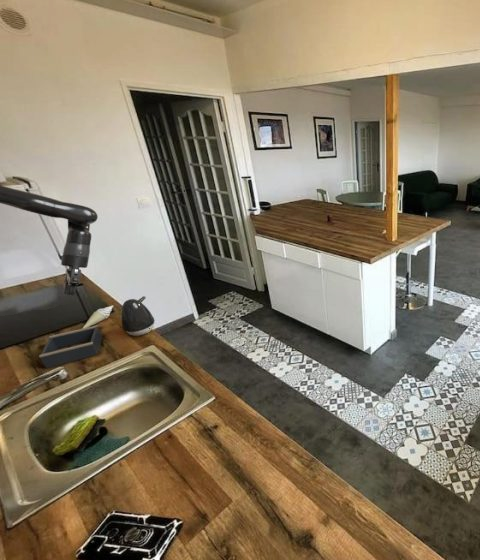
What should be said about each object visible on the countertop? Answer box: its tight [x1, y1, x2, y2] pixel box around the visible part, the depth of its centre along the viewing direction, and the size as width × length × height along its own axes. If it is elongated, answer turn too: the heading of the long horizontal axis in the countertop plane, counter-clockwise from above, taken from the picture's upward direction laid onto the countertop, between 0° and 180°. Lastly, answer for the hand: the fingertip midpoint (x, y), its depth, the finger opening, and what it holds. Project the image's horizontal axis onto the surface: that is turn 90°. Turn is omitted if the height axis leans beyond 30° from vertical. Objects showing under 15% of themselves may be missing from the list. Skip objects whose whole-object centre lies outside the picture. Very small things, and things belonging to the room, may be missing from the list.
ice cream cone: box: [81, 305, 114, 329], centre depth 133 cm, size 5×5×15 cm
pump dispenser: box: [120, 296, 156, 337], centre depth 124 cm, size 10×10×15 cm
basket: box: [38, 324, 103, 369], centre depth 115 cm, size 14×14×5 cm
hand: (69, 294), depth 124 cm, fingers open, 8 cm apart
